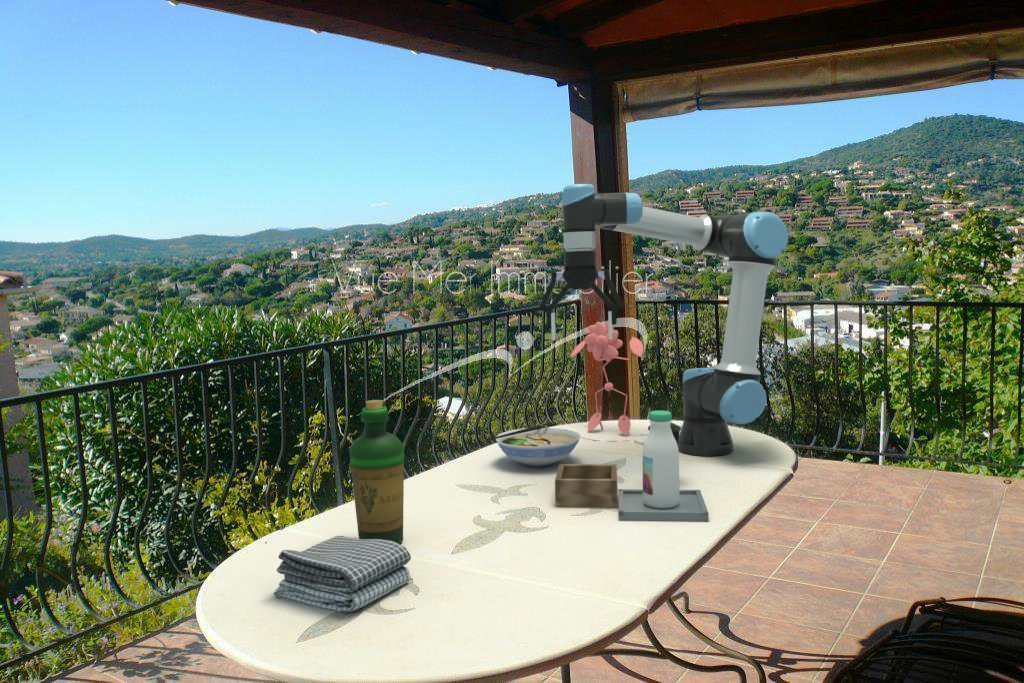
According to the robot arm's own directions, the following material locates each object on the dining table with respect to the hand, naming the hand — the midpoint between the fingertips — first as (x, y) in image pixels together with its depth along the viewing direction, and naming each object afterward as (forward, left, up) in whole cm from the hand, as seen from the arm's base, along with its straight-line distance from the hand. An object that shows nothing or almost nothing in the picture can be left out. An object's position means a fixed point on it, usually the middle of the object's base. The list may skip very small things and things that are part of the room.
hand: (582, 339), depth 188 cm
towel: (+38, +66, -35) cm, 84 cm away
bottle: (+38, +45, -35) cm, 68 cm away
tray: (-17, +22, -35) cm, 44 cm away
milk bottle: (-17, +22, -34) cm, 44 cm away
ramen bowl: (+13, -15, -35) cm, 40 cm away
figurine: (-4, -48, -35) cm, 59 cm away
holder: (-1, +15, -35) cm, 38 cm away
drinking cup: (-19, +3, -35) cm, 40 cm away
